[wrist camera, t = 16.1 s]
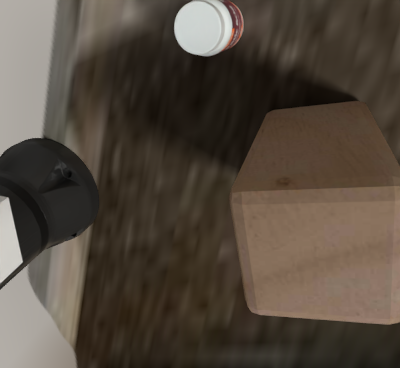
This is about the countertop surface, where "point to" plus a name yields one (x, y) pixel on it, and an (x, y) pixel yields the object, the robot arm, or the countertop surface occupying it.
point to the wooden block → (320, 217)
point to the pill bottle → (208, 26)
